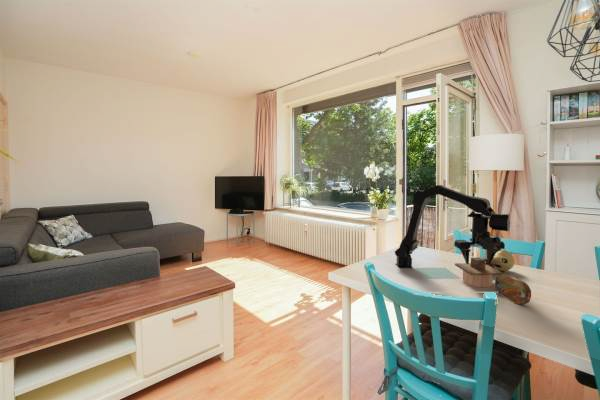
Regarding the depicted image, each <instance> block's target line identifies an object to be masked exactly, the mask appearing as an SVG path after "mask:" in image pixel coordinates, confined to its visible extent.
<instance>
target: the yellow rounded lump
mask: <svg viewBox="0 0 600 400" xmlns="http://www.w3.org/2000/svg"><path fill="white" fill-rule="evenodd" d="M491 262H492V263H493V264H494V267H495V269H496V270H498V271H500V272H504V273H505V274H508V273H509V271H510V270H512V269H513V268H514V266H515V258H514V256H513V255H512V254H511V252H510V251H508V250H507V249H501V251H498V252H496V254H495V255H494V257H493V259H492V261H491Z"/></svg>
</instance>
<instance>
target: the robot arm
mask: <svg viewBox="0 0 600 400" xmlns="http://www.w3.org/2000/svg"><path fill="white" fill-rule="evenodd" d="M438 195H440V196H443V197H445V198H448V199H450V200H452V201H455V202H458V203H460V204H462V205H465V206H466V207H467V208H468V209H470V210H471V212H470V213H468V214H467V217H468V218H472V227H471V229H469V230H470V231H469V232H470V233H471V237H470V239H469V241H468V240H465V239H455V241H454V242H453V247H456V248H457V249H459V251H460V252H461V254H462V256H463V259H464V261H465V263H466V264H469V263H470V253H471V251H472V250H471V247H481V248H482V249H483V250H486V259H487V263H488V264H490V263H491V261H492V259H493V257H494V255H495V254H496V252H498V251H501V249H505V248H506V244H505V242H504V241H502V240H501V238H500V237H499V236H491V233H490V231H489V230H488V229H489V228H490V229H491V230H492V231H493V230H494V231H500V232H501V231H502V232H509V231H510V229H511V228H510V227H511V220H510V219H511V218H510V214H509V213H508V214H507V213H505V214H504V213H503V214H502V213H496V212H495V211H494V209H493V208H492V206H491V202H490V200H489V199H487V198H483V197H479V196H473V195H467V194H465V193H462V192H461V191H456V190H454V189H452V188H450V187H447V186H444V185H442V184H437V185H434V186H432V187H430V188H428V189H422V190H417V191H415V192H414V193H413V195H412V206H413V209H412V212H411V216H410V219H409V223H408V228H407V231H406V235H404V237H403V239H402V240H401V243H400V245H399V247H398V248H397V249H396V250H395V251H394V255H395V256H396V263H395V266H397V267H398V268H399V269H412V268H413V267H412V265H413V258H412V255H411V254H413V252H415V250H416V249H418V245H419V242H420V240H418V239H417V234H418V230H419V226H420V223H421V220H422V216H423V212H424V210H425V209H426V206H427V205H428V204H429V201H430V199H431V198H433V197H436V196H438ZM505 250H506V249H505Z"/></svg>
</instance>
